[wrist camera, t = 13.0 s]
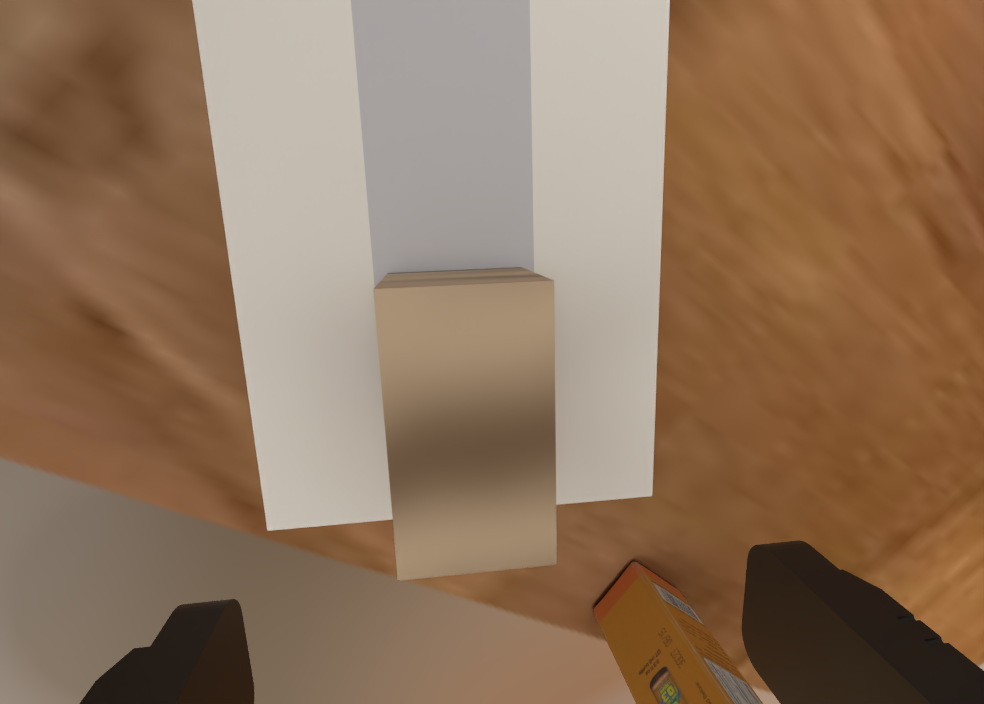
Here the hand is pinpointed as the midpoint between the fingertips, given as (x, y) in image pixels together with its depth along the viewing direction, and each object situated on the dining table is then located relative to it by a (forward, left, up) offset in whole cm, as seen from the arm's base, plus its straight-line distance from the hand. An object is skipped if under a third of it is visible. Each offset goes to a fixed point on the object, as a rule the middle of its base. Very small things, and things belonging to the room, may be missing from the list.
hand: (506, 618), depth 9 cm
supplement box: (+12, +8, -15) cm, 20 cm away
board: (-7, 0, -14) cm, 16 cm away
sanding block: (0, 0, -13) cm, 13 cm away
